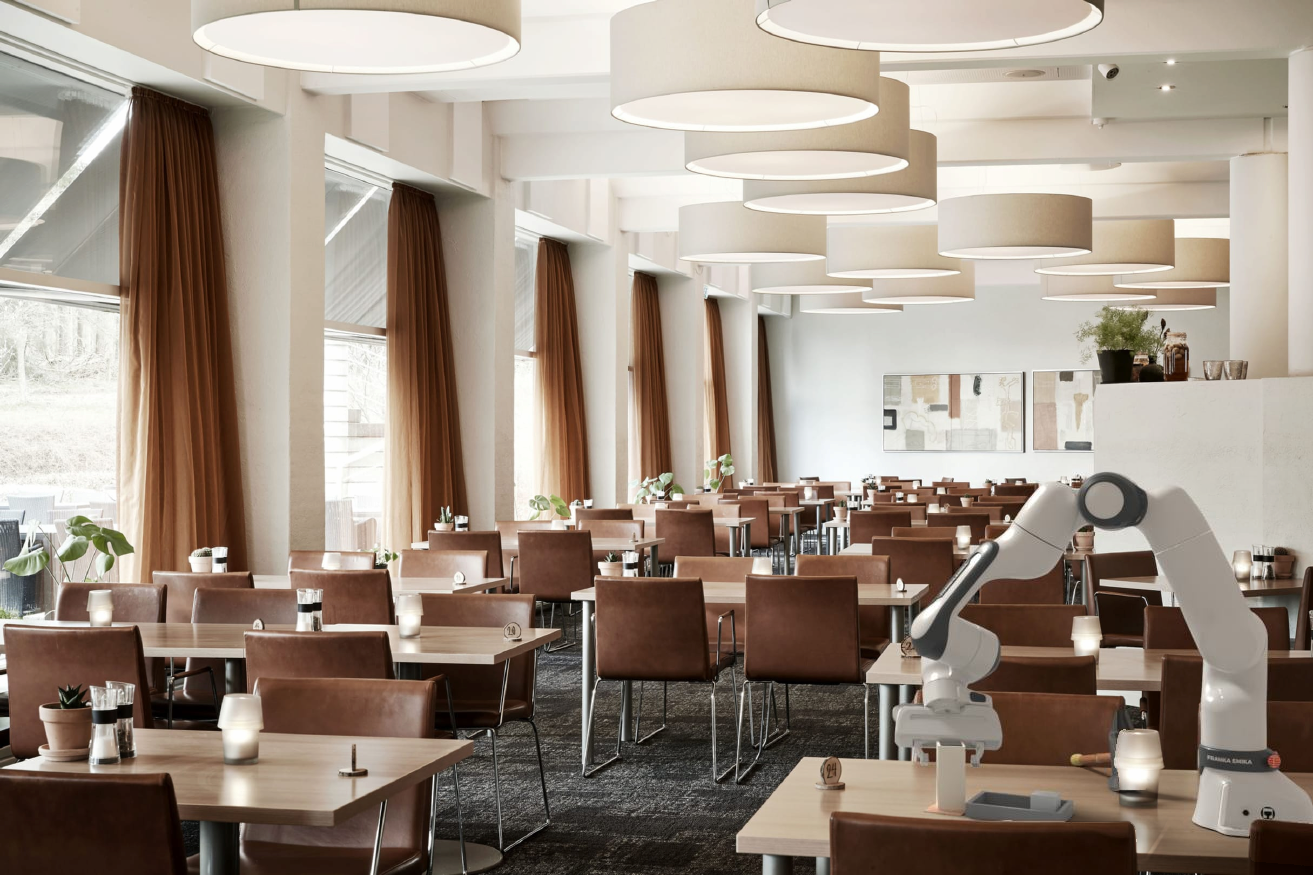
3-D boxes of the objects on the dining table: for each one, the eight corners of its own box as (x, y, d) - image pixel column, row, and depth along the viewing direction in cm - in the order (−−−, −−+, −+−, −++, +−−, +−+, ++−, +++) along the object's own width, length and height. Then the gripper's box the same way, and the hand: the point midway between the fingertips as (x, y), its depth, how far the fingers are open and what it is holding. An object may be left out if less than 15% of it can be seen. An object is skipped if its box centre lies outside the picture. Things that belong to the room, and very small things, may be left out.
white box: (962, 804, 266) (962, 741, 266) (965, 810, 261) (965, 745, 261) (936, 803, 267) (936, 740, 267) (938, 809, 262) (938, 745, 262)
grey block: (1060, 817, 257) (1060, 792, 257) (1055, 822, 253) (1055, 797, 253) (1035, 814, 259) (1035, 790, 259) (1030, 819, 255) (1030, 794, 255)
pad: (976, 806, 267) (976, 803, 267) (960, 818, 257) (960, 815, 257) (940, 802, 270) (940, 799, 270) (923, 814, 260) (923, 810, 260)
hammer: (1085, 718, 311) (1140, 709, 282) (1091, 791, 307) (1148, 790, 278) (1059, 718, 311) (1111, 709, 282) (1065, 792, 307) (1119, 790, 278)
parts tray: (1073, 816, 259) (1073, 800, 259) (1060, 830, 249) (1060, 813, 249) (981, 806, 267) (981, 790, 267) (965, 819, 256) (965, 803, 256)
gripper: (892, 693, 273) (894, 753, 263) (999, 696, 271) (1005, 756, 261) (891, 712, 278) (893, 772, 268) (997, 715, 275) (1003, 776, 265)
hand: (949, 764), depth 264 cm, fingers open, 8 cm apart
